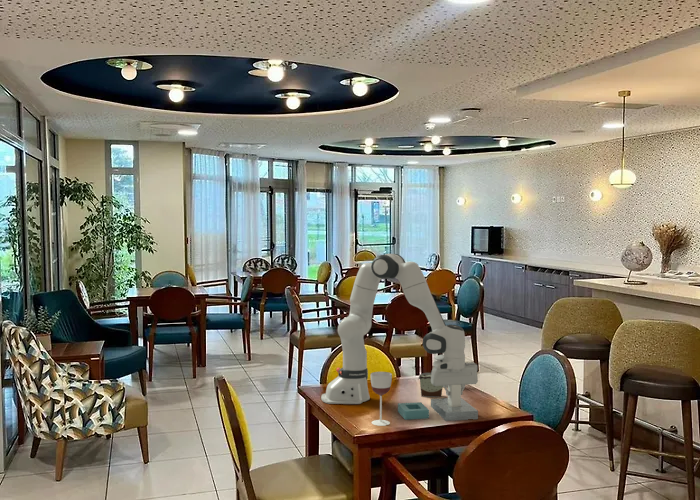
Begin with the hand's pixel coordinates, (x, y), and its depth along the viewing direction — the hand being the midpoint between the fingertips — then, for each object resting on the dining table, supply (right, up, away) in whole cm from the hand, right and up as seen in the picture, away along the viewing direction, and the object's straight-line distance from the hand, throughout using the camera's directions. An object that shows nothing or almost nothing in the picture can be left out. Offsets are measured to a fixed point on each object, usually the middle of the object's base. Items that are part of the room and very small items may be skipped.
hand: (454, 395), depth 266 cm
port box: (0, -8, 0) cm, 8 cm away
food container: (-6, -7, +28) cm, 29 cm away
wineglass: (-32, -8, -14) cm, 36 cm away
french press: (+2, -6, +45) cm, 46 cm away
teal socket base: (-18, -8, -3) cm, 20 cm away
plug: (0, -5, 0) cm, 5 cm away
